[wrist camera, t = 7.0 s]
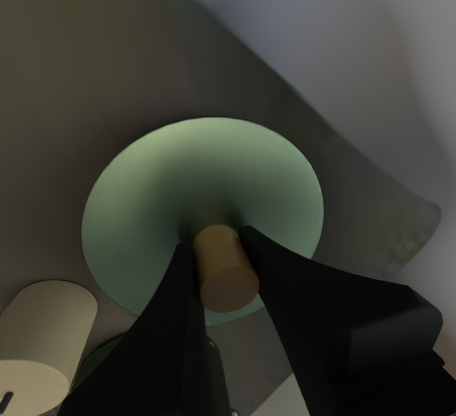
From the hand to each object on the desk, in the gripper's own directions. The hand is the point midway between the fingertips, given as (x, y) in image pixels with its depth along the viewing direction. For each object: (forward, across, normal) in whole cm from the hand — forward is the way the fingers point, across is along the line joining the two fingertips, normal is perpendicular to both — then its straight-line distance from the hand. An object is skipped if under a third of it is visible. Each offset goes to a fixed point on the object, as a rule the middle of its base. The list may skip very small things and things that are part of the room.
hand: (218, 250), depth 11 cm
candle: (+3, +10, +3) cm, 11 cm away
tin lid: (+1, 0, 0) cm, 1 cm away
